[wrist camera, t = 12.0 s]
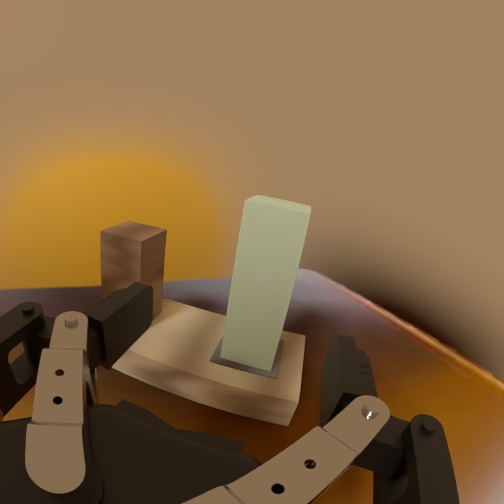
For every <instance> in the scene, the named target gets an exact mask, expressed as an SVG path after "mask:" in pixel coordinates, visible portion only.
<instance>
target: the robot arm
mask: <svg viewBox="0 0 504 504" xmlns="http://www.w3.org/2000/svg"><path fill="white" fill-rule="evenodd" d="M152 320H153V287H152V286H150V285H147V284H144V283H141V282H138V281H136V282H134V283H133V284H131V285H130V286H128V287H127V288H126V289H125V288H123V289H120V290H117V291H114V292H112V293H111V294H110V295H108V296H107V298H106V297H105V298H104V299H102V300H101V301H99V302H98V303H96V304H95V305H94V306H92V307H91V308H89V309H88V310H86V311H85V312H84V313H80V312H76V311H69V312H65V313H62V314H60V315H59V316H58V317H57V318H51V317H47V316H44V314H43V308H42V306H41V305H40V304H38V303H36V302H25V303H22V304H20V305H18V306H17V307H15V308H13V309H12V310H10V311H9V312H7V313H6V314H4V315H3V316H1V317H0V504H313V503H314V502H315V501H316V500H317V499H318V498H319V497H321V496H322V495H323V494H324V493H325V492H326V491H327V490H328V489H329V488H330V487H331V486H332V485H333V484H334V483H335V482H336V481H337V480H338V479H339V478H340V477H341V476H342V475H343V474H344V473H345V472H346V471H347V470H348V469H349V468H350V467H351V466H352V465H356V466H359V467H362V468H365V469H368V470H371V471H373V504H459V497H458V491H457V486H456V480H455V475H454V470H453V466H452V461H451V457H450V453H449V449H448V445H447V441H446V437H445V433H444V430H443V427H442V425H441V423H440V422H439V421H438V420H437V419H435V418H434V417H432V416H430V415H426V414H420V415H417V416H415V417H414V418H413V419H412V420H411V421H410V422H407V421H404V420H401V419H398V418H395V417H393V416H391V415H390V410H389V408H388V406H387V405H386V404H385V403H384V402H383V401H382V400H380V399H378V397H377V392H376V387H375V383H374V378H373V375H372V374H373V373H372V369H371V365H370V360H369V358H368V356H367V355H366V354H365V352H364V351H363V350H359V349H356V345H355V340H354V337H353V336H348V335H343V334H338V333H336V334H335V336H334V338H333V341H332V344H331V346H330V349H329V352H328V354H327V357H326V359H325V362H324V365H323V368H322V373H321V413H320V426H316V427H315V428H313V429H312V430H311V431H309V432H308V433H307V434H306V435H304V436H303V437H302V438H300V439H299V440H298V441H296V442H295V443H293V444H292V445H291V446H289V447H288V448H286V449H285V450H284V451H282V452H281V453H279V454H278V455H276V456H275V457H273V458H272V459H270V460H269V461H267V462H266V463H264V464H263V465H262V464H261V463H260V462H259V461H257V460H256V459H255V458H253V457H251V456H250V455H248V454H246V453H244V452H242V448H243V445H244V443H243V442H239V441H235V440H231V439H228V438H224V437H221V436H217V435H214V434H209V433H200V432H192V431H185V430H179V429H175V428H173V427H172V426H170V425H169V424H167V423H166V422H164V421H163V420H161V419H160V418H158V417H157V416H155V415H154V414H152V413H151V412H150V411H148V410H145V409H143V408H141V407H138V406H136V405H134V404H132V403H130V402H128V401H125V400H123V399H122V400H121V401H120V402H119V404H118V405H117V406H114V405H107V404H99V401H98V387H97V371H96V367H97V366H98V365H101V366H103V367H105V368H107V369H110V368H111V367H112V366H113V365H114V364H115V363H116V362H117V361H118V360H119V359H120V358H121V356H122V355H123V354H124V353H125V352H126V351H127V350H128V349H129V348H130V347H131V346H132V345H133V344H134V343H135V342H136V341H137V340H138V339H139V338H140V337H141V336H142V335H143V334H144V333H145V332H146V331H147V330H148V329H149V327H150V325H151V323H152ZM20 342H22V344H23V347H24V350H25V352H24V353H23V354H21V355H20V356H19V357H18V358H17V359H16V360H14V361H13V362H12V363H11V364H10V365H9V362H8V354H9V352H10V351H11V350H12V349H13V348H14V347H15V346H17V345H18V344H19V343H20ZM35 384H36V389H35V396H34V405H33V415H32V417H29V418H23V419H17V420H10V421H3V422H2V420H3V417H4V416H5V415H6V414H7V413H8V412H9V411H10V410H11V409H12V408H13V407H14V406H15V404H16V403H17V402H18V401H19V400H20V399H21V398H22V397H23V396H24V395H25V394H26V393H27V392H28V391H29V390H30V389H31V388H32V387H33V386H34V385H35Z"/></svg>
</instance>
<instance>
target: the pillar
mask: <svg viewBox="0 0 504 504" xmlns="http://www.w3.org/2000/svg"><path fill="white" fill-rule="evenodd" d="M310 212H311V206H308V205H304V204H299V203H295V202H290V201H286V200H281V199H276V198H271V197H266V196H261V195H256V196H254V197H251V198H249V199H247V200H245V204H244V210H243V216H242V221H241V228H240V233H239V240H238V246H237V252H236V258H235V264H234V271H233V276H232V283H231V289H230V295H229V302H228V308H227V315H226V321H225V328H224V334H223V341H222V348H221V354H220V358H223V359H227V360H230V361H234V362H237V363H241V364H244V365H248V366H252V367H256V368H260V369H264V370H268V371H271V368H272V364H273V361H274V357H275V354H276V350H277V347H278V343H279V340H280V336H281V332H282V329H283V325H284V321H285V317H286V314H287V310H288V306H289V302H290V298H291V294H292V290H293V286H294V282H295V278H296V274H297V270H298V266H299V262H300V257H301V253H302V249H303V244H304V240H305V236H306V232H307V227H308V222H309V218H310Z"/></svg>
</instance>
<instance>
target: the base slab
mask: <svg viewBox="0 0 504 504" xmlns="http://www.w3.org/2000/svg"><path fill="white" fill-rule="evenodd" d="M166 233H167V230H166V229H162V228H157V227H152V226H148V225H144V224H139V223H135V222H130V221H128V222H125V223H122V224H119V225H116V226H113V227H110V228H108V229H105V230H102V231H101V281H102V298H103V299H104V298H105V297H106V298H107V296H108V295H110V294H111V293H112V292H114V291H117V290H120V289H123V288H125V289H126V288H127V287H128V286H130V285H131V284H133V283H134V282H136V281H138V282H141V283H144V284H147V285H150V286H152V287H153V320H152V323H151V325H150V327H149V329H148V330H147V331H146V332H145V333H144V334H143V335H142V336H141V337H140V338H139V339H138V340H137V341H136V342H135V343H134V344H133V345H132V346H131V347H130V348H129V349H128V350H127V351H126V352H125V353H124V354H123V355H122V356H121V358H120V359H119V360H118V361H117V362H116V363H115V364H114V365H113V366H112V368H114V369H116V370H118V371H120V372H122V373H125V374H127V375H129V376H131V377H134V378H136V379H138V380H140V381H143V382H145V383H147V384H150V385H152V386H155V387H157V388H160V389H162V390H165V391H167V392H170V393H173V394H175V395H178V396H181V397H184V398H186V399H189V400H192V401H195V402H198V403H201V404H204V405H207V406H211V407H214V408H217V409H220V410H224V411H227V412H231V413H234V414H238V415H242V416H245V417H249V418H253V419H257V420H261V421H266V422H270V423H275V424H279V425H284V426H288V425H289V423H290V421H291V419H292V416H293V414H294V412H295V410H296V407H297V405H298V403H299V396H300V387H301V377H302V367H303V357H304V346H305V335H300V334H296V333H292V332H287V331H283V330H282V332H281V336H280V340H279V343H278V347H277V350H276V354H275V357H274V361H273V364H272V368H271V371H268V370H264V369H260V368H256V367H252V366H248V365H244V364H241V363H237V362H234V361H230V360H227V359H223V358H220V354H221V348H222V341H223V334H224V328H225V321H226V316H224V315H220V314H217V313H213V312H210V311H206V310H203V309H199V308H196V307H192V306H189V305H186V304H182V303H179V302H176V301H173V300H169V299H166V298H163V297H162V296H163V275H164V274H163V273H164V258H165V245H166Z"/></svg>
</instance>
